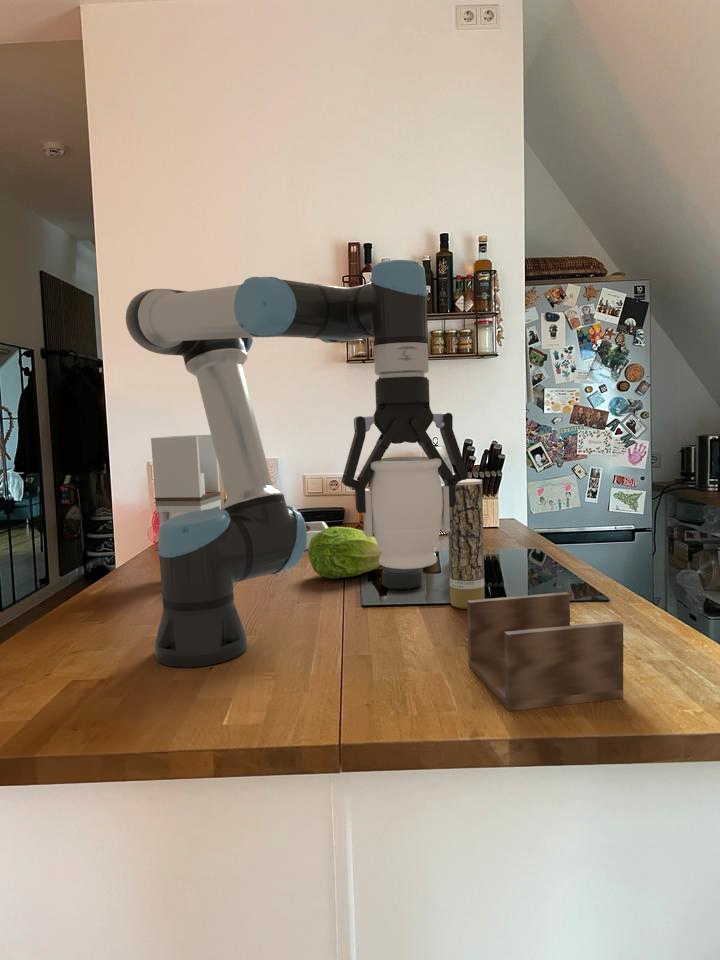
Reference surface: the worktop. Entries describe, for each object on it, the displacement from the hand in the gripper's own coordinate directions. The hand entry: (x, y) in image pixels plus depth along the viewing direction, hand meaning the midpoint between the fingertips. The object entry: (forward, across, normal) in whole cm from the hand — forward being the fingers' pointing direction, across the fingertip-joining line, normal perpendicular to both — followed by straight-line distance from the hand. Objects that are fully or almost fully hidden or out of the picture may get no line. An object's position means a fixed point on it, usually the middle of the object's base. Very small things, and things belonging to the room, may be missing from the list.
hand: (406, 532), depth 98 cm
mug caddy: (+22, -8, +110) cm, 113 cm away
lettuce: (+22, +2, +67) cm, 71 cm away
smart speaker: (+22, +11, +53) cm, 59 cm away
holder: (+22, +18, -5) cm, 29 cm away
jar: (+5, 0, 0) cm, 5 cm away
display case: (+22, -36, +72) cm, 84 cm away
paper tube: (+22, +20, +34) cm, 45 cm away
